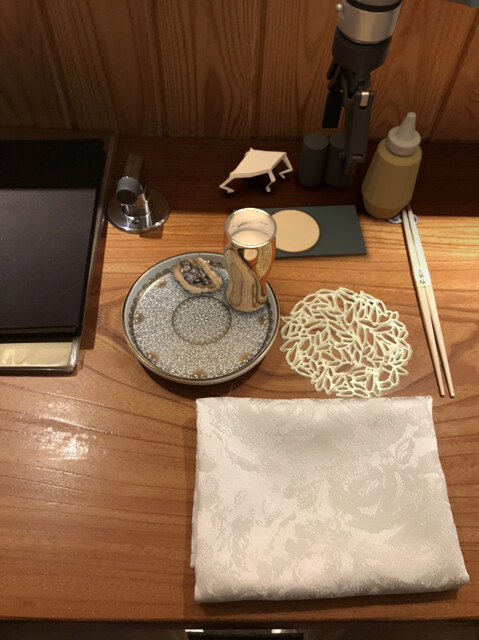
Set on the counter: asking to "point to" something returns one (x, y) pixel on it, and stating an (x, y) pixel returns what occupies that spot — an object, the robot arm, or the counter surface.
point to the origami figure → (258, 166)
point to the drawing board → (317, 231)
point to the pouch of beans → (196, 275)
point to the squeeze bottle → (393, 171)
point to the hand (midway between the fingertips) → (335, 154)
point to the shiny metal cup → (249, 257)
